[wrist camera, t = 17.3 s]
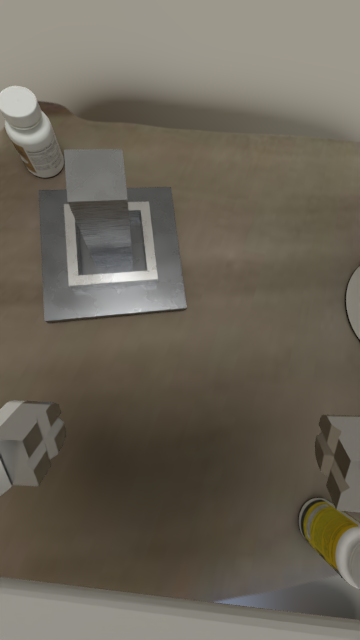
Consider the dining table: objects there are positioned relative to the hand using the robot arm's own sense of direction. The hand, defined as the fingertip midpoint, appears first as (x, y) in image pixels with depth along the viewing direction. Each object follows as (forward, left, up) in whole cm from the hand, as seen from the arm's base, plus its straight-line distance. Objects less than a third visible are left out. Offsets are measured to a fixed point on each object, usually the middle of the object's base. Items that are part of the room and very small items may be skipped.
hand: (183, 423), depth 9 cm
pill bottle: (+10, -28, -22) cm, 37 cm away
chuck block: (+3, -16, -22) cm, 27 cm away
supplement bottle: (-16, +16, -22) cm, 32 cm away
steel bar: (+3, -16, -21) cm, 26 cm away
